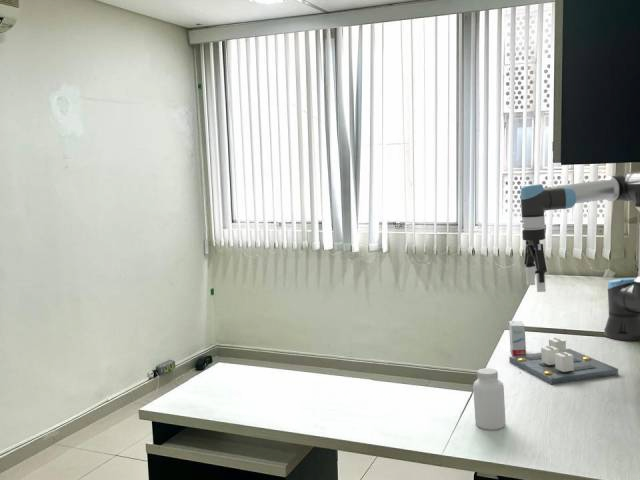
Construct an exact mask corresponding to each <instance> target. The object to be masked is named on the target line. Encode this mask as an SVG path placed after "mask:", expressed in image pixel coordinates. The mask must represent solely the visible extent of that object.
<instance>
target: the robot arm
mask: <svg viewBox="0 0 640 480" xmlns="http://www.w3.org/2000/svg"><path fill="white" fill-rule="evenodd" d="M519 199H520V209H521V210H520V211H521V220H520V221H519V222H520V223H521V228H522V231H521V234H522V240H523V241H525V249H524V250H525V251H524V262H523V264H524V265H525V269H526V270H525V271H526V273H525V274H526V286H536V292H537V293H546V288H547V287H546V273H547V272H548V269H547V265H546V258H545V253H544V252H545V251H544V244H543V243H541V242H540V241H543V240H545V239H546V230H545V227H546V225H545V224H546V221H545V220H546V219H545V211H554V210H555V211H556V210H566V209H571V208H573V207H574V206H575V205H576V204H583V203H589V202H597V201H605V200H606V201H609V202H620V201H621V202H634V203H635V205H634V208H635V209H636V210H637V211H638V212H639V213H640V170H637V171H630V172H626V173H622V174H618V175H612V176H611V175H610V176H606V177H605V178H604V179H601V180H600V179H599V180H594V181H587V182H585V181H584V182H577V183H570V184H562V185H561V184H560V185H554V186H547V187H544V186H543V184H541V183H540V184H539V183H536V184H524V185H522V186H521V187H520V197H519ZM638 226H639V231H638V233H639V234H638V235H639V236H638V270H637V271H638V275H637V277H621V278H614V279H610V280H609V281H608V284H607V298H608V299H607V301H608V304H607V305H608V318H607V321H606V324H605V327H604V329H603V330H604V331H603V332H604V336H605V337H607V338H608V339H611V340H617V341H618V340H619V341H640V224H639V225H638ZM535 269H536V270H535Z"/></svg>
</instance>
